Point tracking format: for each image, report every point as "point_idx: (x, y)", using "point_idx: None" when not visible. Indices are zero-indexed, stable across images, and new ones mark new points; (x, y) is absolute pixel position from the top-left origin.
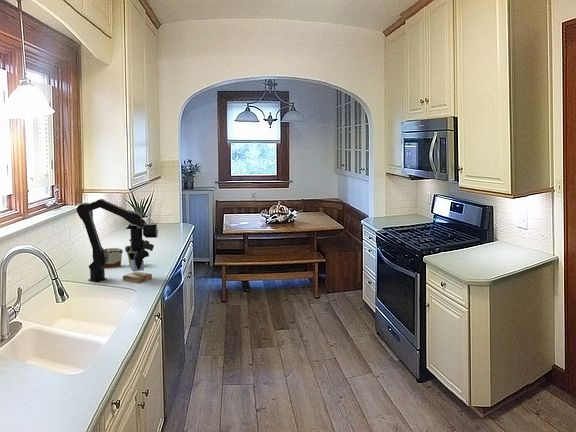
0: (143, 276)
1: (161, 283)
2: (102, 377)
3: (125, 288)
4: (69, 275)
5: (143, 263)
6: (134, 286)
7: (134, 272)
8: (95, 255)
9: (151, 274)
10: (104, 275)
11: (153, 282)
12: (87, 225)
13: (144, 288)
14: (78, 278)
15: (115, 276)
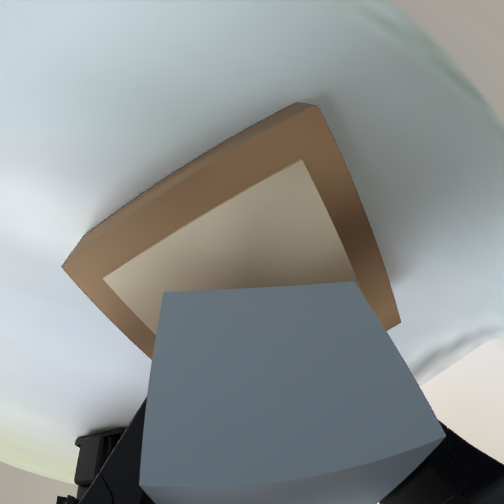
0: (374, 260)
1: (498, 121)
2: None
3: (416, 374)
4: (25, 464)
5: (412, 382)
6: (425, 329)
7: (98, 300)
8: None
9: (319, 112)
10: (104, 448)
11: (442, 161)
12: None
13: (498, 282)
14: (75, 469)
15: (49, 374)
